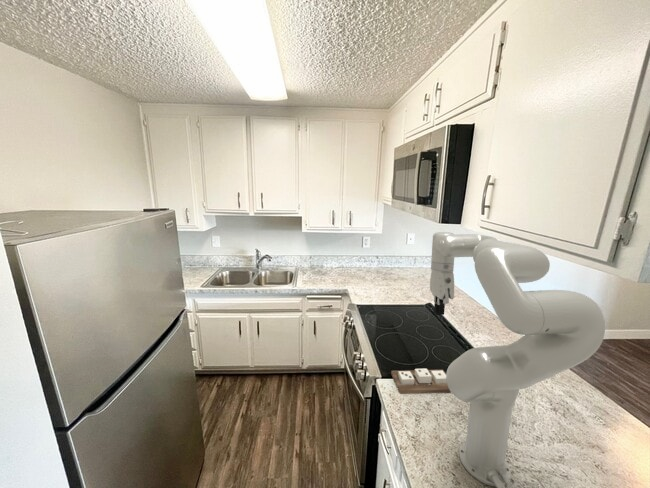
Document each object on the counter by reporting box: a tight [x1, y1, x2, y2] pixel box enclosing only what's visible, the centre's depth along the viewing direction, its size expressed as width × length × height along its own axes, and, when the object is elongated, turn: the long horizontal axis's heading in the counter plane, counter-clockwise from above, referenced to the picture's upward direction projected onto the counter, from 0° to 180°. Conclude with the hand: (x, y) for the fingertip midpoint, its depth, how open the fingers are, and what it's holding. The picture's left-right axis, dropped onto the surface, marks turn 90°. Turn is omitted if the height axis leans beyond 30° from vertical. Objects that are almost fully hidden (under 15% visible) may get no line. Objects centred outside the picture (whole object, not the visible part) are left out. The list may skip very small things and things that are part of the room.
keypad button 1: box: [431, 371, 447, 384], centre depth 107 cm, size 5×5×3 cm
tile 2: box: [414, 368, 432, 384], centre depth 107 cm, size 5×5×3 cm
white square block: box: [397, 370, 414, 385], centre depth 107 cm, size 5×5×3 cm
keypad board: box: [390, 369, 452, 395], centre depth 107 cm, size 12×23×2 cm, turn 91°
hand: (438, 313), depth 96 cm, fingers closed
